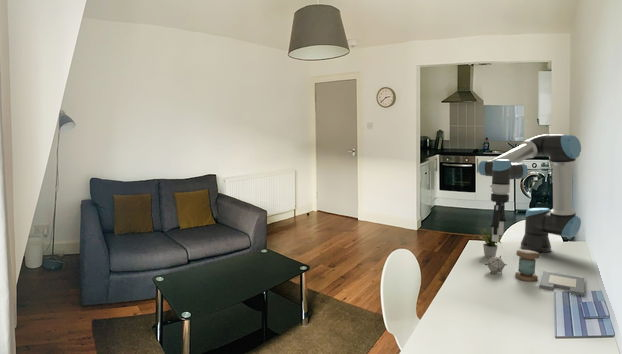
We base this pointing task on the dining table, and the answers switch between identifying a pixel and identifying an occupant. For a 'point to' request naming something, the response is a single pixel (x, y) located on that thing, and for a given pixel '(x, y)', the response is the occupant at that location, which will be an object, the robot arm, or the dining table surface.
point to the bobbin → (527, 265)
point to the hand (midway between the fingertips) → (497, 238)
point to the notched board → (562, 282)
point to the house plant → (489, 245)
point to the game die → (495, 264)
